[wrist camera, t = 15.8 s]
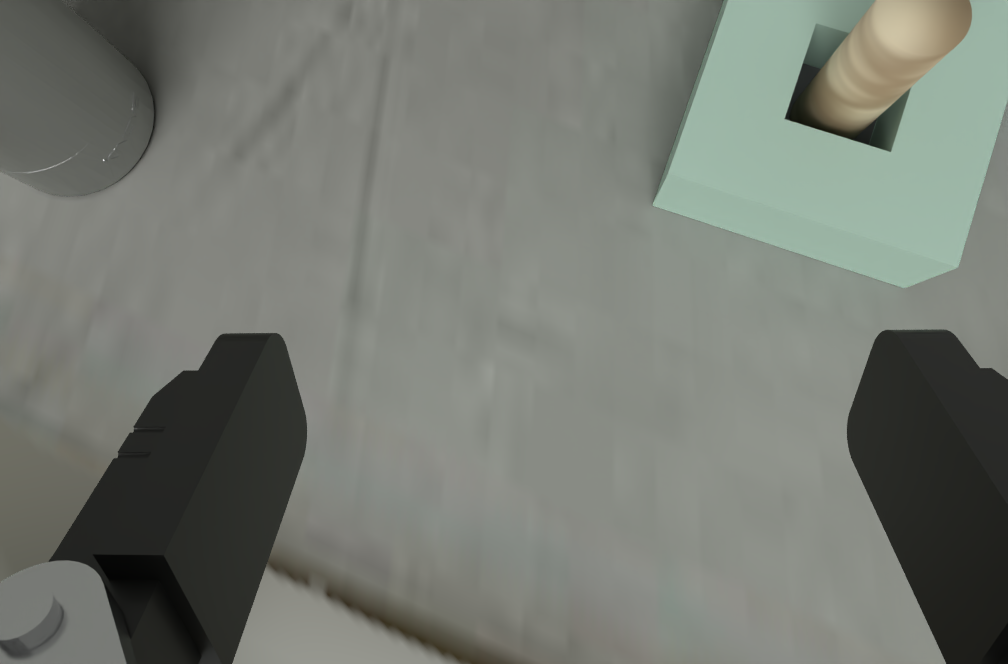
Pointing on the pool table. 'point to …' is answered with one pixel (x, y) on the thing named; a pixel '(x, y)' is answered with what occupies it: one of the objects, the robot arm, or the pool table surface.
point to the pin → (880, 62)
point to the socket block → (838, 143)
